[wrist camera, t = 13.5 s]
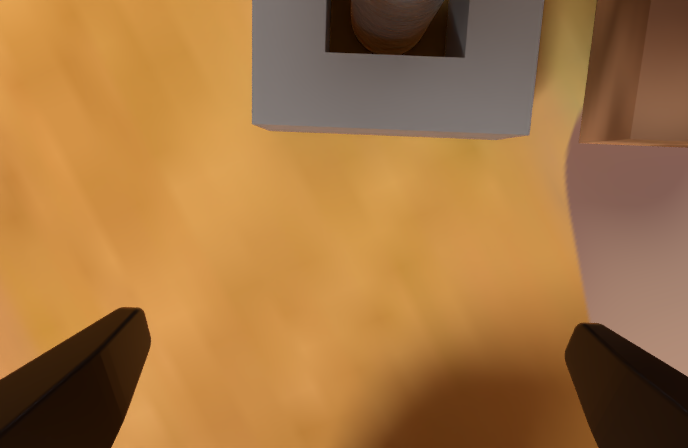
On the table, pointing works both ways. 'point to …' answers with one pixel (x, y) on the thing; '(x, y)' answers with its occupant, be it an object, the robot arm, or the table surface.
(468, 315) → the table surface
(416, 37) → the steel pin
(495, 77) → the rack block
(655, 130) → the socket block
